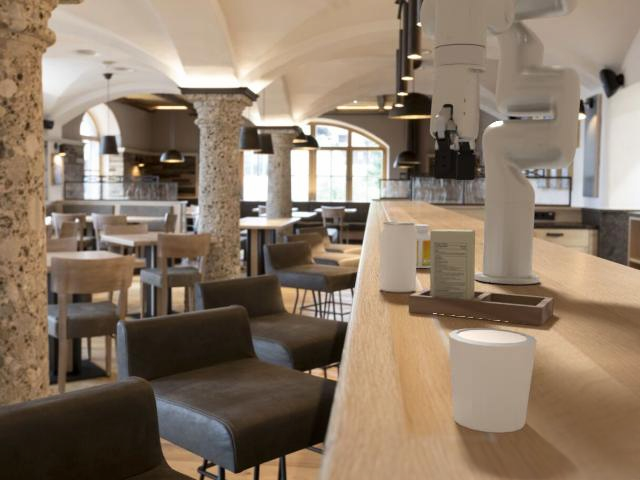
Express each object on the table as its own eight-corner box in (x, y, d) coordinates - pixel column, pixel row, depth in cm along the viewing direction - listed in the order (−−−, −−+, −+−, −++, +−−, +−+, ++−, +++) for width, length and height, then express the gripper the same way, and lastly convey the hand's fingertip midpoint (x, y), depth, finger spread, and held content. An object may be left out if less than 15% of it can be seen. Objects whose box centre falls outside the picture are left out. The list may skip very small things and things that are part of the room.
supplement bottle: (430, 266, 163) (431, 224, 162) (431, 269, 157) (433, 225, 156) (406, 265, 163) (408, 223, 162) (407, 268, 158) (408, 225, 157)
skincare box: (474, 309, 108) (477, 229, 107) (471, 314, 104) (474, 231, 103) (432, 306, 110) (435, 227, 109) (427, 311, 106) (430, 229, 105)
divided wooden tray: (429, 302, 113) (430, 286, 113) (553, 314, 105) (553, 297, 105) (408, 312, 105) (409, 295, 104) (541, 325, 96) (542, 307, 96)
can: (414, 294, 122) (416, 224, 121) (376, 292, 123) (378, 223, 122) (416, 288, 128) (418, 222, 127) (381, 287, 129) (382, 221, 128)
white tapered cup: (436, 407, 60) (439, 326, 60) (514, 406, 61) (518, 326, 60) (458, 436, 54) (462, 345, 53) (546, 434, 54) (550, 345, 54)
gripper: (451, 72, 113) (447, 180, 114) (415, 53, 98) (411, 178, 99) (498, 70, 110) (494, 180, 111) (469, 49, 94) (464, 178, 96)
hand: (455, 179), depth 105 cm, fingers open, 9 cm apart
